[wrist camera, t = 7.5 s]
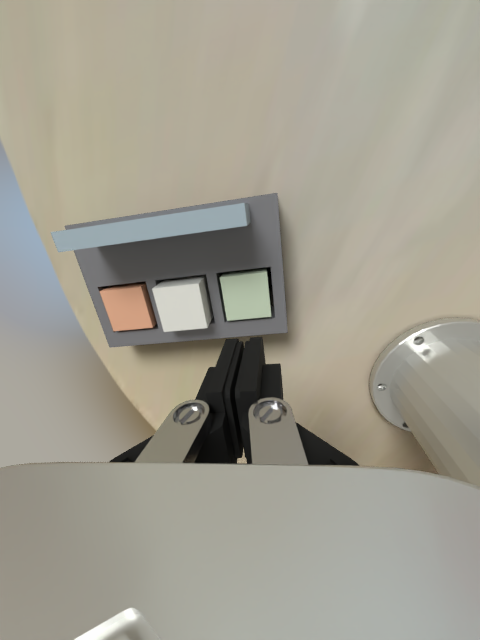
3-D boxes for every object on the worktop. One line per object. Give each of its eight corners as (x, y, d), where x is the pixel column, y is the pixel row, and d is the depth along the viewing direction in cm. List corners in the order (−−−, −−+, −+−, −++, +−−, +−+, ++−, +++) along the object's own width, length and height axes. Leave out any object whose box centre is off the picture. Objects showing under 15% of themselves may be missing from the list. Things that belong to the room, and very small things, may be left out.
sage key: (266, 264, 22) (266, 272, 19) (270, 303, 24) (271, 316, 21) (225, 269, 23) (219, 277, 20) (231, 307, 24) (226, 320, 21)
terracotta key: (155, 277, 24) (141, 286, 21) (165, 314, 25) (152, 327, 22) (118, 281, 24) (99, 291, 21) (130, 317, 25) (113, 331, 23)
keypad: (275, 194, 20) (280, 188, 14) (285, 318, 24) (292, 358, 18) (89, 223, 23) (19, 230, 16) (125, 333, 27) (81, 372, 20)
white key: (206, 273, 22) (198, 283, 19) (214, 313, 23) (207, 328, 20) (165, 278, 22) (151, 288, 20) (175, 317, 24) (163, 332, 21)
